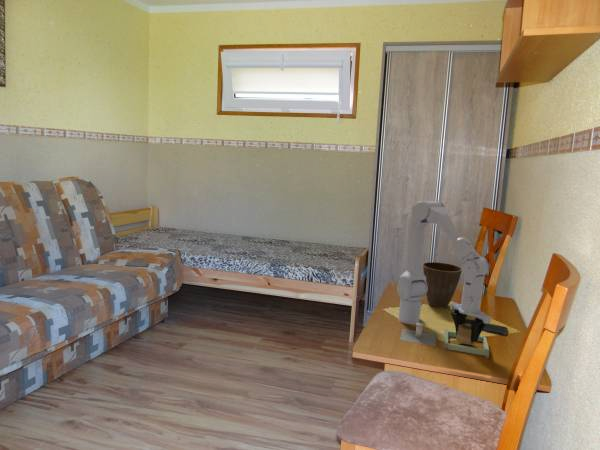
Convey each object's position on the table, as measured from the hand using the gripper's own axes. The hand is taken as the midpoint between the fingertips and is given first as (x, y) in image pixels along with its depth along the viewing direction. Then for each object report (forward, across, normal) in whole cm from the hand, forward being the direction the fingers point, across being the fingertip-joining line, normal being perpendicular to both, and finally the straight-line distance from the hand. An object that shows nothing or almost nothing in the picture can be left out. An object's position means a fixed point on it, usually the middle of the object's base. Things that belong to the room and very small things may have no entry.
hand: (466, 337), depth 155 cm
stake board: (+3, -10, -10) cm, 15 cm away
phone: (+4, -11, +22) cm, 24 cm away
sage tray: (+3, 0, 0) cm, 3 cm away
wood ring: (+1, 0, 0) cm, 1 cm away
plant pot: (+3, -36, +24) cm, 44 cm away
